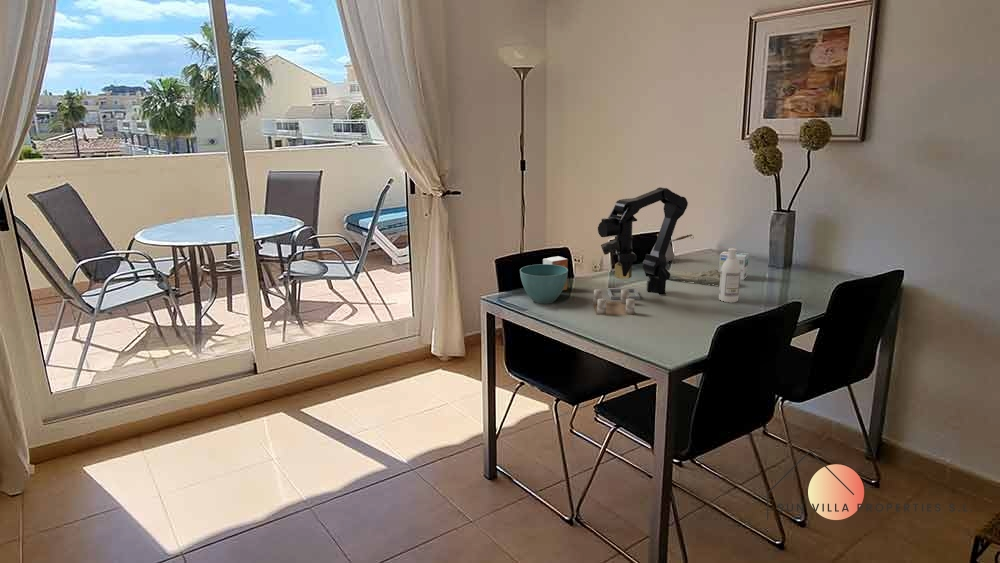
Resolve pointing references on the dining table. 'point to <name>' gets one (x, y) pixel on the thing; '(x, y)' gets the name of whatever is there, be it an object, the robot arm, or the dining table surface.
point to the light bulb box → (742, 261)
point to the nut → (619, 272)
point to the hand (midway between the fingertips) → (623, 274)
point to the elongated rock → (696, 277)
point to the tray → (610, 291)
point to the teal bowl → (543, 281)
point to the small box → (557, 263)
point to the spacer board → (613, 304)
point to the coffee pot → (669, 251)
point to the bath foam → (730, 278)
